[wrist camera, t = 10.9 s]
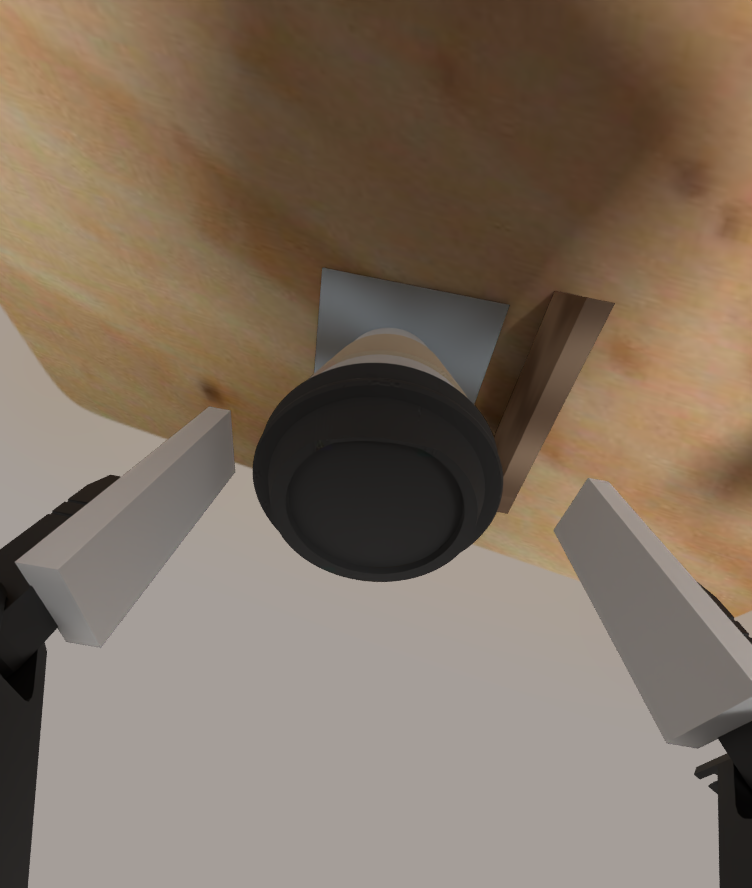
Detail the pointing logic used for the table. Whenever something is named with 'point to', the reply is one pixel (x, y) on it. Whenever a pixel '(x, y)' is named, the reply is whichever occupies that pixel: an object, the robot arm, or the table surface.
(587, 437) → the table surface
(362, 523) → the coffee cup
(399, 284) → the arena
